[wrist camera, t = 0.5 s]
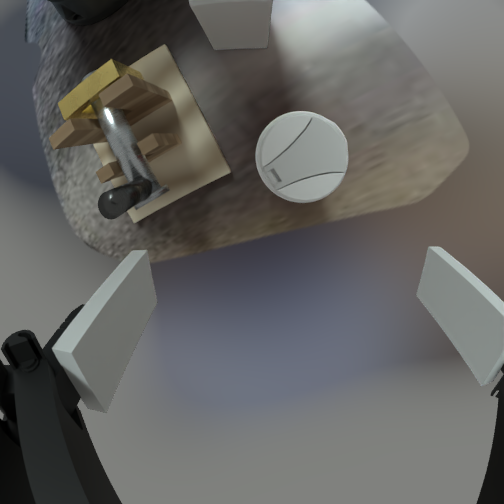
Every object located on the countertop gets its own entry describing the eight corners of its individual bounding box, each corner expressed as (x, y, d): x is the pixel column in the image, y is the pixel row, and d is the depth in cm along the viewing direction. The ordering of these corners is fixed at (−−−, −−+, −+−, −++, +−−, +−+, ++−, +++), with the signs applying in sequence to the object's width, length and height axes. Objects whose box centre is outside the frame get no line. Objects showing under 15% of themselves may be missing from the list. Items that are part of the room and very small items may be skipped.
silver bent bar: (88, 89, 26) (34, 81, 16) (116, 68, 25) (65, 51, 15) (144, 204, 32) (101, 233, 22) (174, 187, 31) (138, 211, 21)
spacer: (93, 106, 29) (57, 103, 22) (140, 72, 28) (111, 58, 21) (99, 120, 30) (64, 120, 23) (147, 86, 29) (119, 76, 21)
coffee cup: (277, 191, 38) (288, 223, 24) (244, 140, 35) (235, 141, 22) (329, 161, 36) (370, 176, 22) (297, 109, 33) (323, 92, 20)
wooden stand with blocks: (80, 106, 33) (19, 104, 20) (167, 46, 30) (126, 11, 17) (137, 221, 40) (90, 259, 27) (231, 171, 37) (217, 189, 24)
